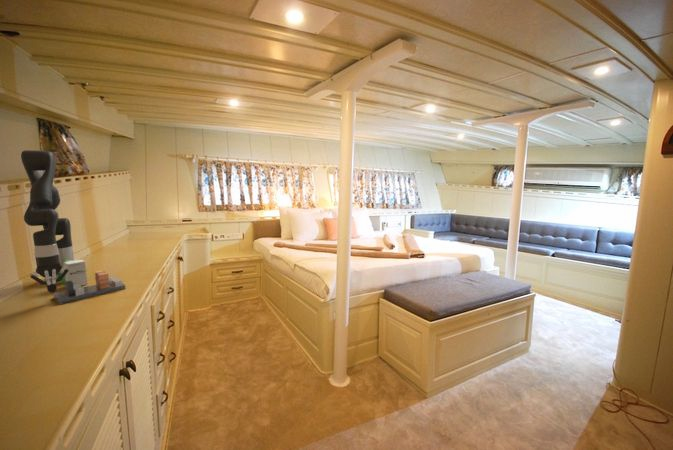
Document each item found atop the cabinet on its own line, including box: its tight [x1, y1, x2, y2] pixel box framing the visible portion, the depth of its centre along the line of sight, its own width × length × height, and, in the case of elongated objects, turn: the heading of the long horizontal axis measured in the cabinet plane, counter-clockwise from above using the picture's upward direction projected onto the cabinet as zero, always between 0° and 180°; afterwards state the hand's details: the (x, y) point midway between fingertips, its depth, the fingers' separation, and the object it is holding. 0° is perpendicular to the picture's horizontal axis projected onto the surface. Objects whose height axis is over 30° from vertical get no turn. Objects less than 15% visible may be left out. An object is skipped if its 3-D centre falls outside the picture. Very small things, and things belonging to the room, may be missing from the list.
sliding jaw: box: [64, 281, 84, 296], centre depth 141 cm, size 12×5×5 cm, turn 51°
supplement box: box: [63, 259, 88, 287], centre depth 157 cm, size 7×7×13 cm
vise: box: [52, 275, 126, 305], centre depth 146 cm, size 12×25×4 cm, turn 141°
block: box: [94, 269, 110, 289], centre depth 149 cm, size 8×4×7 cm, turn 51°
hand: (52, 292), depth 135 cm, fingers closed
